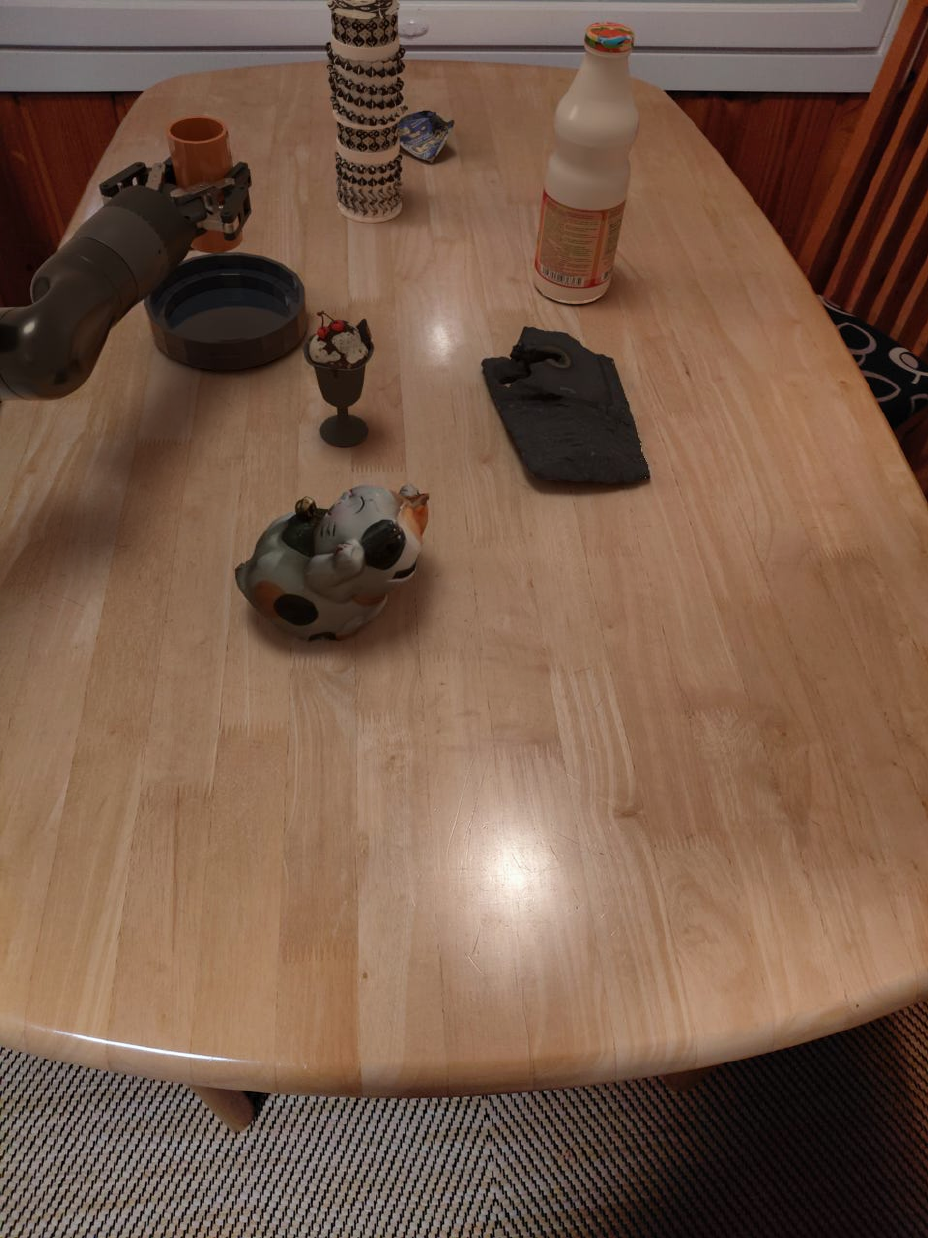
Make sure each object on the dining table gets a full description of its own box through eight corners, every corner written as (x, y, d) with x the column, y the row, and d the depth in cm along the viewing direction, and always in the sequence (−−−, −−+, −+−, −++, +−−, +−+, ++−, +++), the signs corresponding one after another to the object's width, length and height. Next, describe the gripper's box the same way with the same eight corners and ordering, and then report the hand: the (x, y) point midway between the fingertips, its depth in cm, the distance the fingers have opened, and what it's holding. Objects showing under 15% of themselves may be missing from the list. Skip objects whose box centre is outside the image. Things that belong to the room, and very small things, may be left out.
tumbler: (206, 259, 94) (186, 148, 85) (176, 235, 96) (154, 125, 88) (253, 241, 96) (238, 132, 88) (223, 218, 99) (206, 110, 90)
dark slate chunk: (507, 497, 91) (511, 461, 87) (477, 358, 104) (480, 321, 100) (658, 489, 93) (669, 453, 89) (610, 353, 106) (618, 317, 102)
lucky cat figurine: (307, 511, 88) (376, 408, 79) (400, 598, 88) (479, 505, 79) (205, 582, 76) (272, 472, 68) (312, 682, 77) (393, 585, 68)
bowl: (207, 395, 98) (201, 363, 95) (122, 318, 105) (114, 286, 102) (338, 334, 105) (336, 303, 102) (250, 266, 113) (246, 235, 110)
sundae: (304, 448, 93) (290, 319, 82) (319, 406, 98) (308, 276, 86) (368, 457, 93) (364, 328, 81) (381, 414, 97) (379, 285, 85)
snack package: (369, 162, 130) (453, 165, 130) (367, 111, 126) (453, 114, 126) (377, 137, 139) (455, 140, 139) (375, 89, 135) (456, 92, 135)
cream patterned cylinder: (393, 230, 119) (391, 10, 100) (324, 216, 121) (309, -4, 101) (413, 195, 125) (416, -19, 105) (348, 183, 126) (338, -32, 106)
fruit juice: (548, 311, 110) (584, 53, 88) (521, 268, 116) (549, 14, 94) (620, 301, 112) (674, 46, 90) (591, 259, 118) (634, 9, 96)
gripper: (194, 225, 78) (279, 140, 89) (43, 191, 81) (143, 111, 91) (208, 304, 84) (286, 215, 94) (68, 270, 87) (159, 187, 97)
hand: (216, 165), depth 93 cm, fingers closed on tumbler, 5 cm apart
